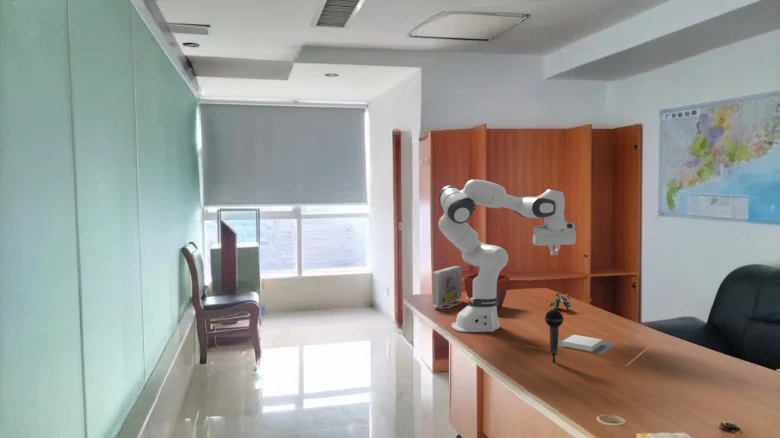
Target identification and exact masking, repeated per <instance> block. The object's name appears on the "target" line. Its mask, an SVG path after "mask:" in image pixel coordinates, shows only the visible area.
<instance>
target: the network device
mask: <svg viewBox="0 0 780 438" xmlns="http://www.w3.org/2000/svg"><path fill="white" fill-rule="evenodd" d="M462 270H463V269H462V266H457V265H453V266H450V267H445V268H442V269H438V270H435V271H433V272H432V305H433V306H434V308H435V307H437V308H436V309H442V308H448V309H451V308H453V307H456V306H458V304H459V305H461V304H462V300H459V299H462V294H463V286H462V285H463V282H462V281H463V280H462V279H463V274H462V273H463V271H462ZM452 301H454V302H452ZM458 302H459V303H458ZM460 303H461V304H460ZM448 305H450V306H448ZM455 305H456V306H455ZM450 307H451V308H450Z"/></svg>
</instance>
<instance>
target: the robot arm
mask: <svg viewBox="0 0 780 438" xmlns="http://www.w3.org/2000/svg"><path fill="white" fill-rule="evenodd" d="M438 201H439V205H440V209H441V210H442V212H443V214H442V216H440V218H439V219H438V221H437V222H438V223H437V226H438V229H439V230H440V232H441V233H442V235H443V236H444V238H446V239H447V240H448V241H449V242H450V243H452V245H454V246H455V247H456V248H457V249H458V250H459V251H460V252H461V257H462V260H463V261H464V262H465V263H467V264H469V265H471V266H473V267H478V268H479V270H478V271H479V272H478V273H479V274H478V276H477V277H475V278H474V279H473V296H472V297H471V298H469V297H468V296H466V297H465V301H466V302H467V303H468V305H466V306H465V307H464V308H462V310H460V311H459V312H458V313H457V315H456V320H455V322H452V323H451V328H452V329H453V330H454V331H457V332H460V333H485V332H486V333H488V332H492V333H493V332H495V331H496V330H498V329H500V327H501V326H500V321H499V317H498V315H499V314H498V309H497V305H498V301H497V297H496V291H497V279H498V275H500V272H501V271H502V270H503V268H505V267H506V266H507V264H508V261H509V255H508V254H509V253H508V252H507V250H506V249H505V248H503V247H500V246H498V245H495V244H487V243H484V242H481V241H480V240H479V234H478V232H477V231H476V230H475V229H474V228H472V227H471V225H469V223H467V222H468V221H469V220H470V219H471V217H472V215H473V213H474V211H475V210H476V205H478V206H482V207H486V208H491V209H500V208H505V209H508V210H510V211H511V210H512V211H514V212H515V213H516V214H518V216H520V217H522V218H532V219H533V218H534V219H543V218H544V224H542V225H539V224H537V225H536V226H534V227H533V229H532V233H533V235H532V244H533V246H536V247H537V246H538V247H540V246H547V248H548V249H549V252H550V254H549V255H550V256H557V255H559V251H560V249H561V246H562V245H563V246H565V245H566V246H567V245H575V244H576V243H577V232H576V230H575V226H576V225H575V223H571V222H569V221H565V220H566V219H565V214H564V213H565V209H566V207H565V205H566V203H565V201H566V200H565V195H564V193H563V191H561V190H559V189H554V188H553V189H552V188H548V189H546V190H545V191H544V192H543V193H540V195H537V196H529V195H523V196H519V197H518V196H514V195H512V194H508V193H507V190H506V188H505V187H504V186H502V185H500V184H498V183H495V182H492V181H488V180H484V179H470V180H468V181H467V182H466V183H465V184H464V187H463V188H462V189H460V188H459V187H457V186H456V185H452V184H450V185H446V186H445V185H444V187H442V188H441V190H440V191H439V195H438ZM554 246H555V249H553V248H554Z"/></svg>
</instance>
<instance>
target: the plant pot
mask: <svg viewBox="0 0 780 438" xmlns="http://www.w3.org/2000/svg"><path fill="white" fill-rule="evenodd" d="M478 274H479V272H477V273H473V274H471V275H468V276H466V277H463V281H464V286H465V293H466V295H467V296H466V297H469V298H471V297H472V296H473V279H474V278H475V277H477V276H478ZM510 278H511V277H510V275H502V274H499V275H498V279H497V291H496V297H497V301H498V305H497V310H499V309H500V308H501V307H503V304H504V302H505V298H506V297H507V296H506V295H507V291H508V288H509V284H510V283H509V282H510Z"/></svg>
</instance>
